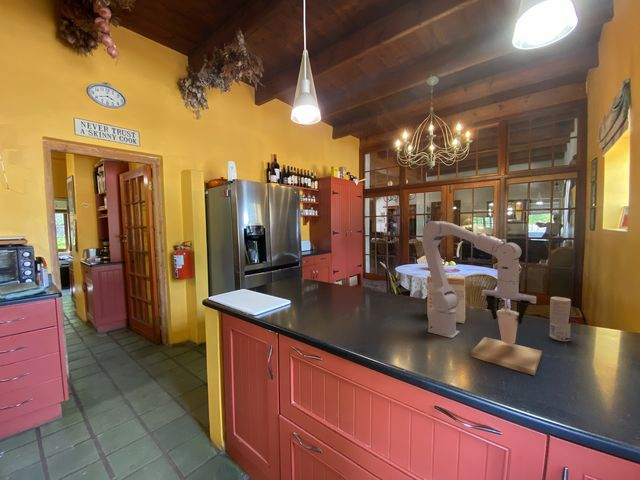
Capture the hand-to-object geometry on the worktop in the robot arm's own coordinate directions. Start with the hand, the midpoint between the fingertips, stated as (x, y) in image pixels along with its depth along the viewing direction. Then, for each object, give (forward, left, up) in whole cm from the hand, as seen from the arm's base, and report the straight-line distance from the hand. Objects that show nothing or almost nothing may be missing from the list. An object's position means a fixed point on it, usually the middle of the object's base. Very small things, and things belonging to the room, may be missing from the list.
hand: (507, 320), depth 88 cm
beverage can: (+11, +25, -11) cm, 29 cm away
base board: (0, -3, -10) cm, 11 cm away
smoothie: (0, +1, -7) cm, 7 cm away
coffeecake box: (-27, +20, -11) cm, 35 cm away
